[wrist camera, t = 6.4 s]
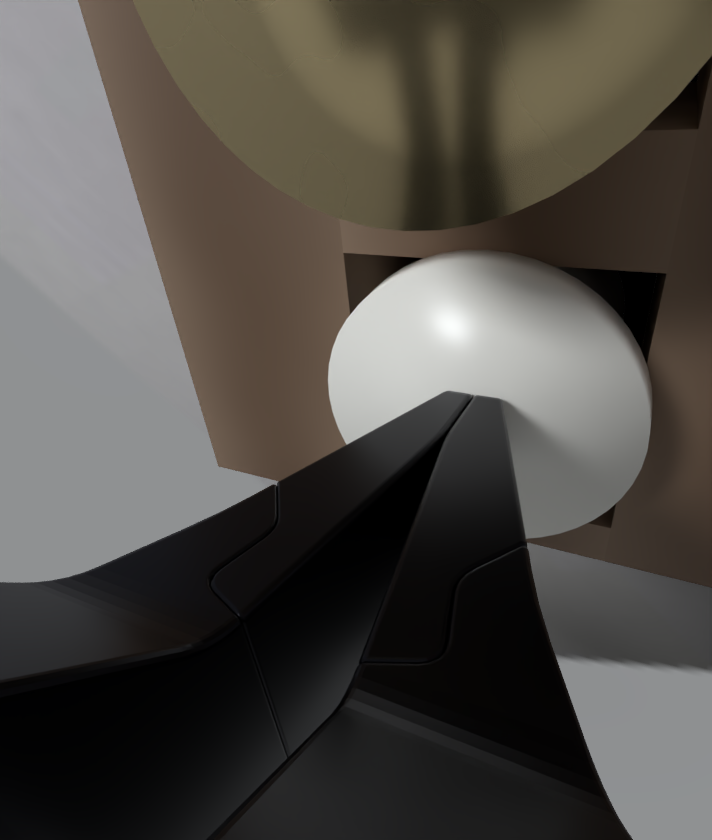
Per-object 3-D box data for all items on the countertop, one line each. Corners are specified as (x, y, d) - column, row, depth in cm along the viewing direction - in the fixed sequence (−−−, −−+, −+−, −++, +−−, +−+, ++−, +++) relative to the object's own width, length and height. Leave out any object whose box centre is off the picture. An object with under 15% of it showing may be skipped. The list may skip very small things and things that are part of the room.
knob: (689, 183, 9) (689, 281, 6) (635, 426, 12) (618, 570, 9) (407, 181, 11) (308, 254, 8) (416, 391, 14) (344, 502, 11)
